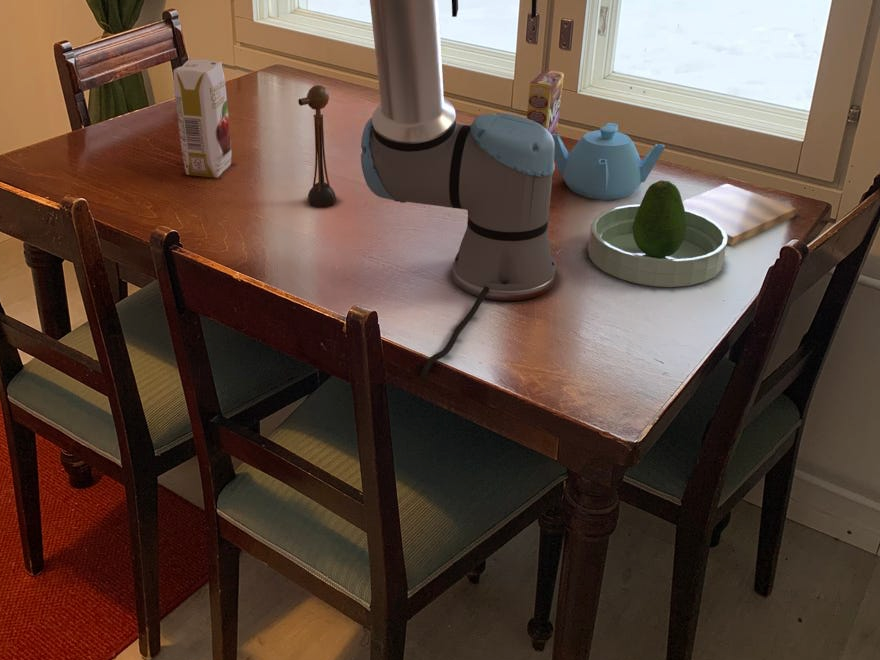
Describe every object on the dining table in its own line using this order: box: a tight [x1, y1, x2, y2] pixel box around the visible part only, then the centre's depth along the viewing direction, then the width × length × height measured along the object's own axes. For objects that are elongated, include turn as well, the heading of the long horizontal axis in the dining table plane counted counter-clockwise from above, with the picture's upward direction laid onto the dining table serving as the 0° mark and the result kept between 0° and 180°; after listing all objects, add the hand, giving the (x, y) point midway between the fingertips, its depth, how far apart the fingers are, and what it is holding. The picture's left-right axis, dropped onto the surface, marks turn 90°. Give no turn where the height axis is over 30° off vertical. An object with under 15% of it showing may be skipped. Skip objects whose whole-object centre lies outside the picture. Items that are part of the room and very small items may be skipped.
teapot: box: [551, 122, 666, 201], centre depth 176 cm, size 15×15×11 cm
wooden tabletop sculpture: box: [297, 84, 337, 209], centre depth 167 cm, size 6×5×20 cm
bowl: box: [587, 203, 728, 288], centre depth 155 cm, size 20×20×4 cm
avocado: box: [632, 179, 687, 258], centre depth 153 cm, size 8×8×12 cm
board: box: [682, 183, 797, 246], centre depth 169 cm, size 18×14×2 cm
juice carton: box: [173, 58, 233, 179], centre depth 179 cm, size 8×9×19 cm
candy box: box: [526, 69, 565, 135], centre depth 186 cm, size 9×4×15 cm, turn 157°
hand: (494, 13), depth 173 cm, fingers open, 13 cm apart
